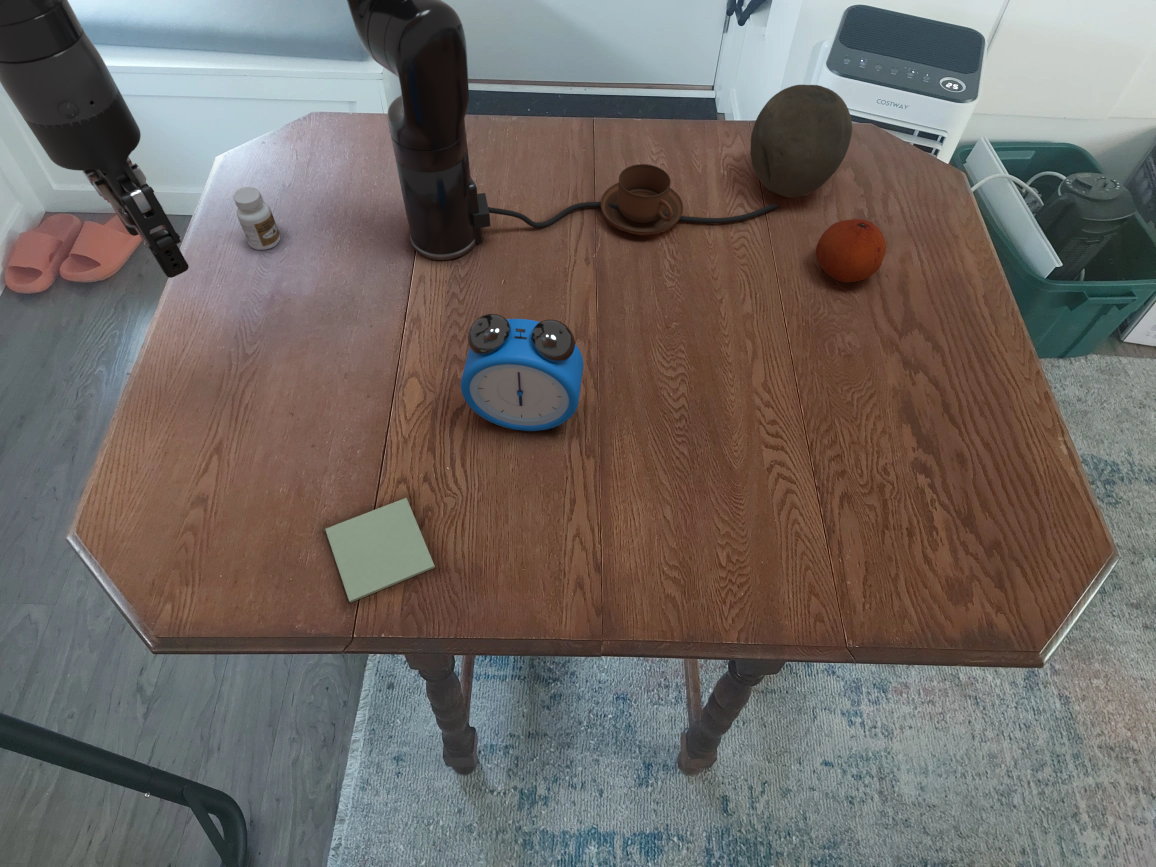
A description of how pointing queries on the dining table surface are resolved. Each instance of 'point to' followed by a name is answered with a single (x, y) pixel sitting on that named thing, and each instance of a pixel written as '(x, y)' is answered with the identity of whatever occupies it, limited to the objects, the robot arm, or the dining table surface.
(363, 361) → the dining table surface
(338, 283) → the dining table surface
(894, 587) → the dining table surface
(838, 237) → the fruit
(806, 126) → the kiwi
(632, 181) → the cup and saucer
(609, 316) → the dining table surface
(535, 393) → the alarm clock
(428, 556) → the coaster
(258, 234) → the pill bottle
